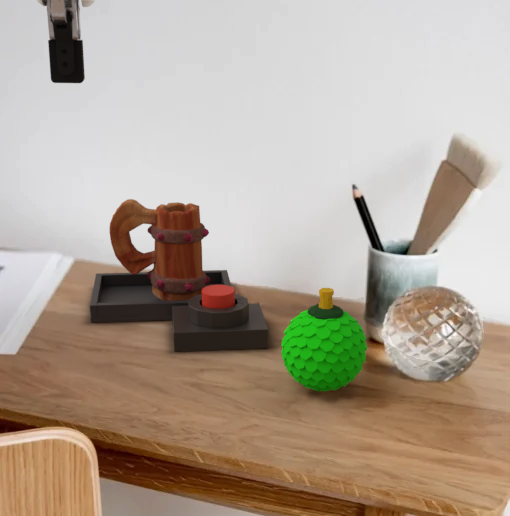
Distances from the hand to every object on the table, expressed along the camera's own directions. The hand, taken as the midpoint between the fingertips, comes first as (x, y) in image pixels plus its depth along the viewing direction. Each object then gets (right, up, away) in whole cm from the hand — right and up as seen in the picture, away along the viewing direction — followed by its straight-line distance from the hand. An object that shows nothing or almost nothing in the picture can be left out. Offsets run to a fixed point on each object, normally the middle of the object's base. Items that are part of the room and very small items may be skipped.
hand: (68, 81), depth 85 cm
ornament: (+25, -31, -4) cm, 40 cm away
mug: (+8, -21, +17) cm, 28 cm away
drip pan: (+8, -21, +17) cm, 29 cm away
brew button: (+15, -22, +7) cm, 28 cm away
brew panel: (+15, -26, +8) cm, 31 cm away
